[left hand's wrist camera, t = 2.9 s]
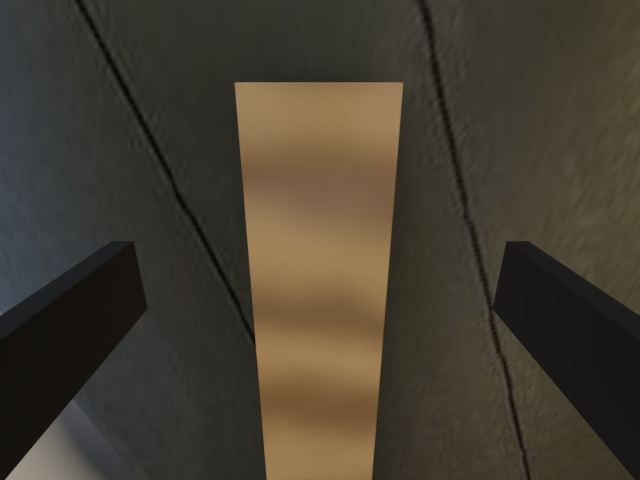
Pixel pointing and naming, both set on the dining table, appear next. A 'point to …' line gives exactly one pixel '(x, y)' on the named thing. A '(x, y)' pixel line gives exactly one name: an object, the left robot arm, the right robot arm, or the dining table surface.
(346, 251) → the wide beam
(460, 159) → the dining table surface
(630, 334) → the left robot arm
